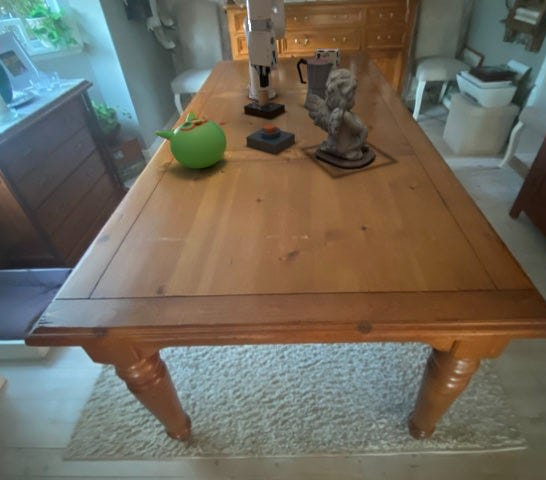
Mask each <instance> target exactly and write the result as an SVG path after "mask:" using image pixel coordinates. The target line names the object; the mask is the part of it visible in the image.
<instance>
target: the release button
mask: <svg viewBox="0 0 546 480" xmlns="http://www.w3.org/2000/svg"><path fill="white" fill-rule="evenodd" d="M276 127H277V125H275V124H273V123H269V124H265V125H264V126H263V128H264V132H266V133H273V132H276Z"/></svg>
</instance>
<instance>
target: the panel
mask: <svg viewBox="0 0 546 480" xmlns="http://www.w3.org/2000/svg"><path fill="white" fill-rule="evenodd" d="M243 110H244V111H243V112H244V114H245V115H249V116H253V117H258V118H262V119H265V120H266V119H267V120H272V119H273V120H274V118H277V117H278V116H280V115H282V114H284V113H286V105H285V104H283V103H278V102H273V101H269V106H267V107H260V106H259V100H255V101H253V102H249V103H248V104H245V105H244V106H243Z"/></svg>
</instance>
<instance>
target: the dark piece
mask: <svg viewBox="0 0 546 480" xmlns="http://www.w3.org/2000/svg"><path fill="white" fill-rule="evenodd" d="M245 140H246V146H247V147H249V148H253V149H256V150H259V151H264V152H267V153H271V154H274V155H278V154H279V153H281V152H282V151H284V150H286V149H287V148H289V147H291V146H292V145H293V144H295V143H296V134H295V133H292V132H289V131H284V130H281V129H280V128H279V127H277V126H276V132H273V133H266V132H264V127H262V128H261V129H259V130H256V131H255V132H253V133H251V134H249V135H247V136H245Z"/></svg>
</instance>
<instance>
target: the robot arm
mask: <svg viewBox="0 0 546 480" xmlns="http://www.w3.org/2000/svg"><path fill="white" fill-rule="evenodd" d="M232 1H233V2H234V3H236V4H238V5H245V6H246V14H247V15H246V16H245V17H244V19H243V22H242V23H243V25H242V27H243V32H244V36H245V37H244V38H245V41H246V47H247V56H248V65H249V76H250V77H249V78H250V83H248V84H247V86H246V90H248V91H249V94H248V97H249V98H250V99H251V100H255V101H257V100H258V91H259V90H268V91H269V100H271V99H273V98H275V97H276V95H277V94H276V93H277V92H275V90H273V82H272V81H273V80H272V71H275V70H277V64H279V51H278V44H277V43H278V42H277V41H281V40H283V39H284V38H285V36H286V13H285V11H286V10H285V0H232ZM272 11H273V12H272Z"/></svg>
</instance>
